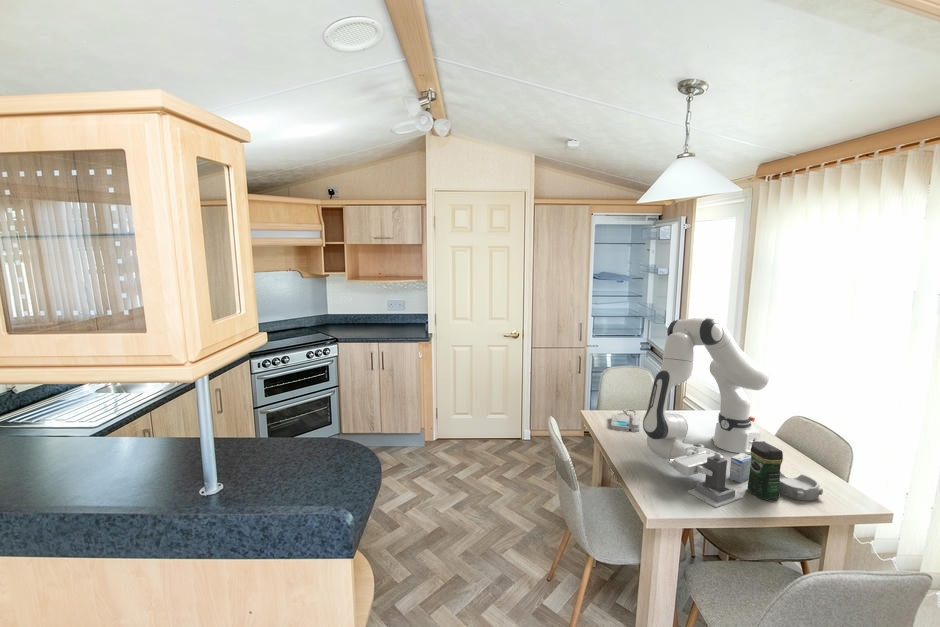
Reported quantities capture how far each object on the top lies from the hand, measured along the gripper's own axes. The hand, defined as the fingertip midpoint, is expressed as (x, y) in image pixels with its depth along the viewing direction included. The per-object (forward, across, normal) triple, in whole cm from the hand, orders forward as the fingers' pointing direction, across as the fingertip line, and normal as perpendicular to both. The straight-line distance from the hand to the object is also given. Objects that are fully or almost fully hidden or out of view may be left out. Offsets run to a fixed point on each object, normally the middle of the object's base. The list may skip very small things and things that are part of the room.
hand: (718, 472), depth 159 cm
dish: (+10, +28, +9) cm, 31 cm away
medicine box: (-5, +20, +9) cm, 23 cm away
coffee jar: (+6, +16, +9) cm, 20 cm away
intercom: (-67, +23, +10) cm, 72 cm away
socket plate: (-1, 0, +9) cm, 9 cm away
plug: (-1, 0, +6) cm, 6 cm away
